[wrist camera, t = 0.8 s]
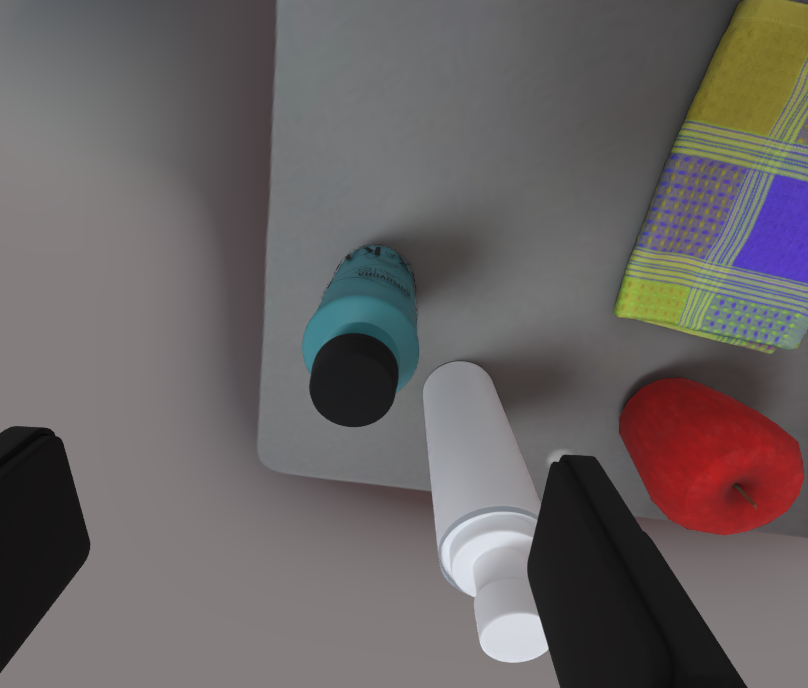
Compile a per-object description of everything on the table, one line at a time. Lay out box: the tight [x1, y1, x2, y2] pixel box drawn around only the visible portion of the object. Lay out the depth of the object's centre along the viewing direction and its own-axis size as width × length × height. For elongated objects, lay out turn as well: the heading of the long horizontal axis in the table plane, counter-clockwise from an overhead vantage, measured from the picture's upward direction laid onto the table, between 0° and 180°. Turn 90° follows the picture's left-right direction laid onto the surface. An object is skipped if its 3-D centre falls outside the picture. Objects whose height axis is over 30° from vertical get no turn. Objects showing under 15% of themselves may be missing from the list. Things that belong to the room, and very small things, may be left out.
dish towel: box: [614, 0, 808, 354], centre depth 35 cm, size 18×24×3 cm
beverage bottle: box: [302, 244, 419, 427], centre depth 29 cm, size 6×7×20 cm
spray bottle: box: [423, 361, 549, 662], centre depth 31 cm, size 7×7×25 cm
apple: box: [619, 377, 804, 535], centre depth 37 cm, size 11×10×14 cm
